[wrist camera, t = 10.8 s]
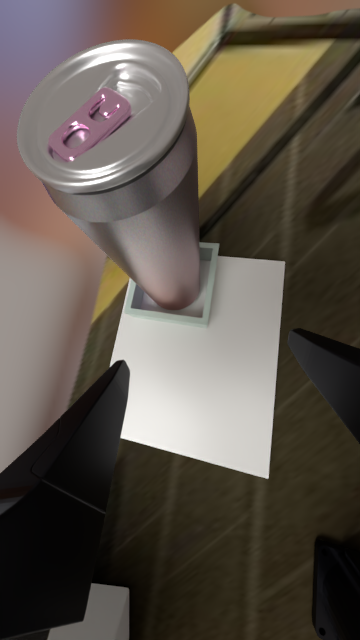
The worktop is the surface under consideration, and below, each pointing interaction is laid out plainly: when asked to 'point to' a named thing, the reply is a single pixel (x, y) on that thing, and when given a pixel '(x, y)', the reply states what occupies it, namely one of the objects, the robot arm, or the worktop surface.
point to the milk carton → (100, 616)
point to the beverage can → (122, 160)
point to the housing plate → (206, 364)
